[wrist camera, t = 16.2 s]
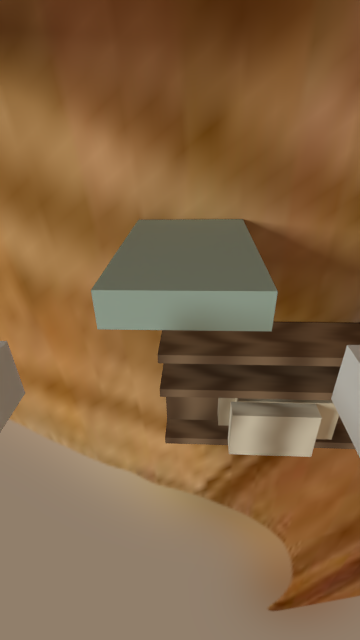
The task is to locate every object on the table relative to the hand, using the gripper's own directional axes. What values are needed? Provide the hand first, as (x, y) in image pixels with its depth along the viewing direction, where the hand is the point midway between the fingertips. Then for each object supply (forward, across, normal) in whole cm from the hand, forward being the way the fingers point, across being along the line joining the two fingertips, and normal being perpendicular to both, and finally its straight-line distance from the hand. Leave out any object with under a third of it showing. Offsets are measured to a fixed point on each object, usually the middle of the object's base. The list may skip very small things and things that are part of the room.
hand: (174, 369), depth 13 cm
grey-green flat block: (+22, 0, -1) cm, 22 cm away
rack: (+21, +10, -18) cm, 30 cm away
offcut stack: (+20, +10, -20) cm, 30 cm away
